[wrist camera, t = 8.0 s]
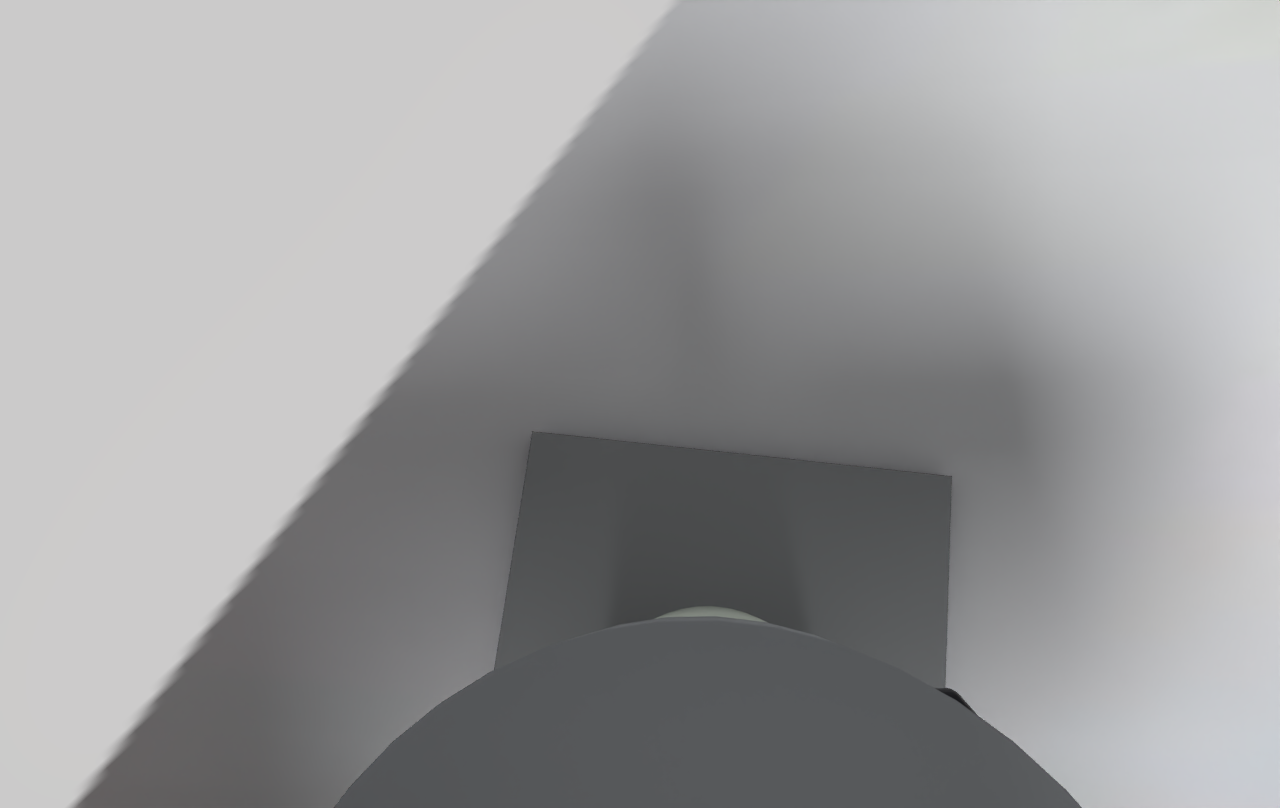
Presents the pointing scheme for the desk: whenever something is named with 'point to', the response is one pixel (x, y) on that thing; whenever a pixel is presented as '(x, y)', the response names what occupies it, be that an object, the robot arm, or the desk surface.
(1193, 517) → the desk surface
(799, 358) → the desk surface
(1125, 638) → the desk surface
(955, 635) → the desk surface
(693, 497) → the charcoal pad
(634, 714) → the tin canister
